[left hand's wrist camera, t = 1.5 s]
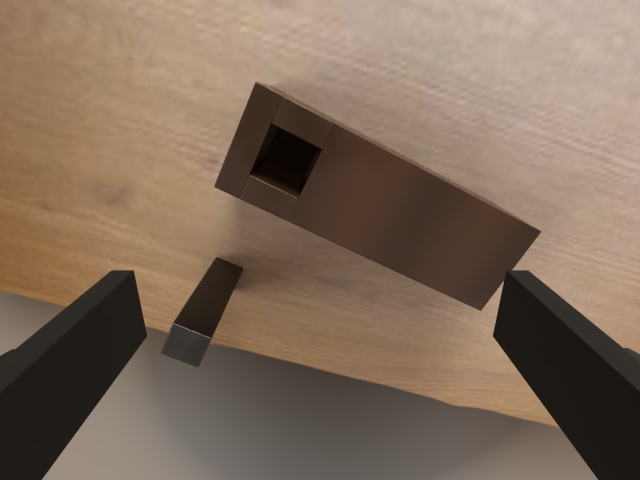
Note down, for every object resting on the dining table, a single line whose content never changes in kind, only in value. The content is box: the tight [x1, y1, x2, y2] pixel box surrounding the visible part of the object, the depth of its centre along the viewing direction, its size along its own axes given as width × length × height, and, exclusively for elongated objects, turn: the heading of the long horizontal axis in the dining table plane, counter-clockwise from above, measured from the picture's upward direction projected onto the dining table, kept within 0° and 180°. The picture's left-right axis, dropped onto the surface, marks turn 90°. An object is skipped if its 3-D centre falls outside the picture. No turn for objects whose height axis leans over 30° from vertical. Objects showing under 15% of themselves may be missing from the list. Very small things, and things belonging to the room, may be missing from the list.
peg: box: [161, 257, 243, 367], centre depth 33 cm, size 3×3×12 cm
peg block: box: [214, 82, 541, 311], centre depth 31 cm, size 24×8×8 cm, turn 64°
